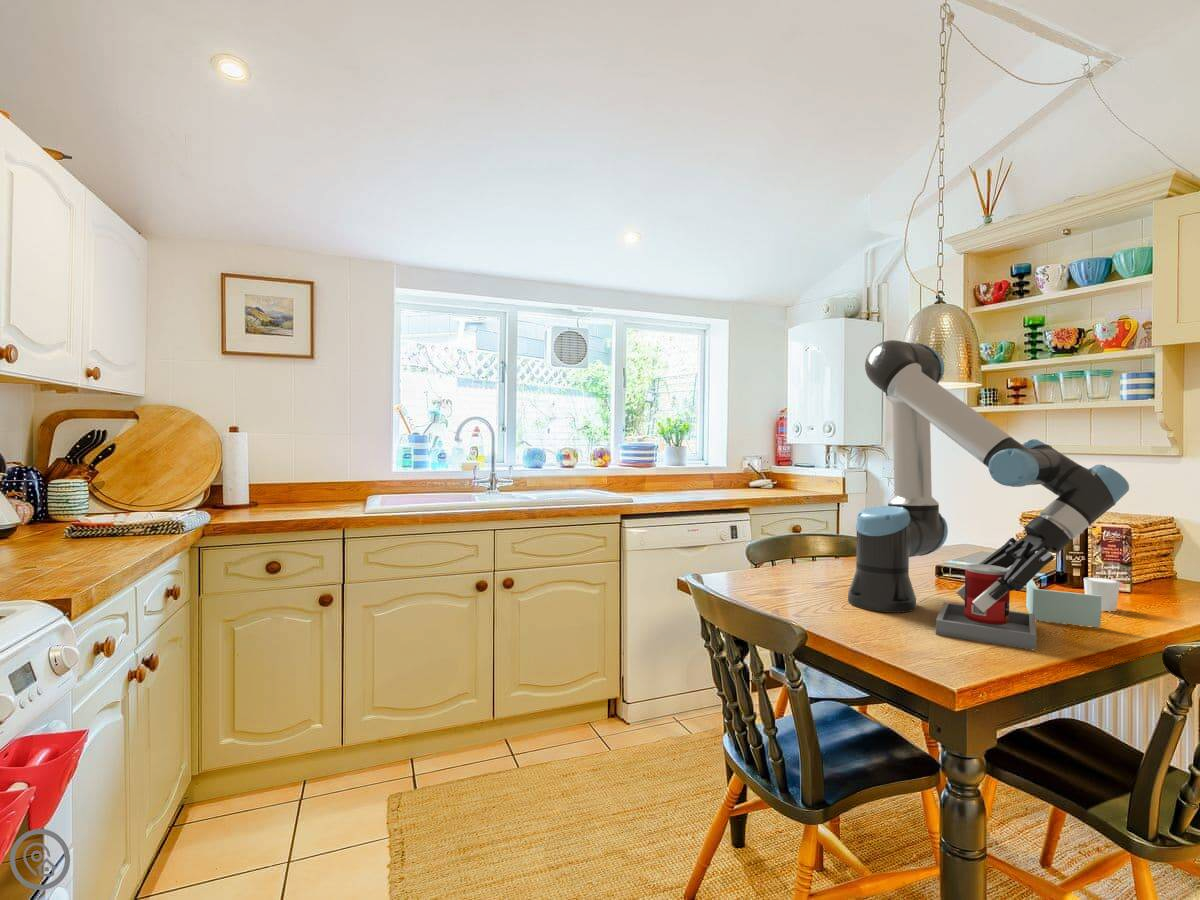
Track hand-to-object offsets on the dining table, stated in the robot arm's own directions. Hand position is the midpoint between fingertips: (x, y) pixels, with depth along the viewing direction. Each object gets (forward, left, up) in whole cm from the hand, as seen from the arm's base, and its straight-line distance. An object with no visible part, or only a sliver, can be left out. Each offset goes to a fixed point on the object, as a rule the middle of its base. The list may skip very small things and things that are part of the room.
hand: (968, 601), depth 131 cm
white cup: (+25, +37, -6) cm, 45 cm away
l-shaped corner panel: (+17, +23, -7) cm, 30 cm away
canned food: (+3, +1, -4) cm, 5 cm away
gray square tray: (+3, +1, -6) cm, 7 cm away
